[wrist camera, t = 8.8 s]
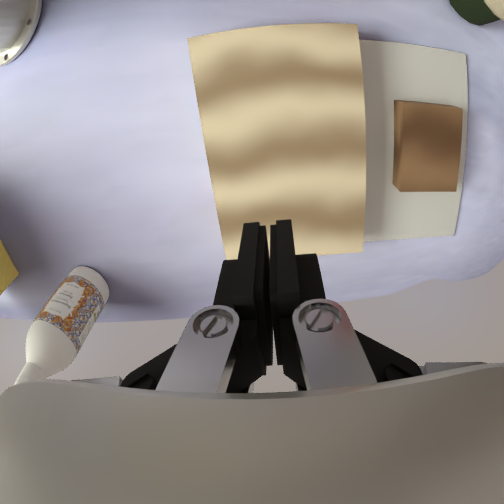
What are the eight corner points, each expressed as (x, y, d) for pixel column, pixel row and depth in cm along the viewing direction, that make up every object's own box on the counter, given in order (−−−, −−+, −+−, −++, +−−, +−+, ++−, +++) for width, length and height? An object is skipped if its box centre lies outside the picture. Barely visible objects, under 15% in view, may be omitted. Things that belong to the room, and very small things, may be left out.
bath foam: (109, 271, 39) (38, 389, 22) (112, 307, 43) (56, 418, 26) (68, 259, 38) (-9, 363, 22) (74, 295, 42) (12, 396, 25)
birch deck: (198, 42, 24) (187, 38, 20) (346, 30, 22) (357, 24, 19) (231, 242, 35) (226, 261, 32) (354, 233, 34) (362, 251, 30)
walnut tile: (462, 108, 22) (451, 105, 24) (402, 102, 23) (393, 99, 25) (456, 191, 27) (446, 183, 29) (400, 192, 28) (392, 183, 30)
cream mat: (352, 39, 23) (353, 39, 22) (463, 54, 21) (465, 54, 21) (358, 240, 34) (358, 242, 34) (452, 233, 33) (453, 235, 32)
